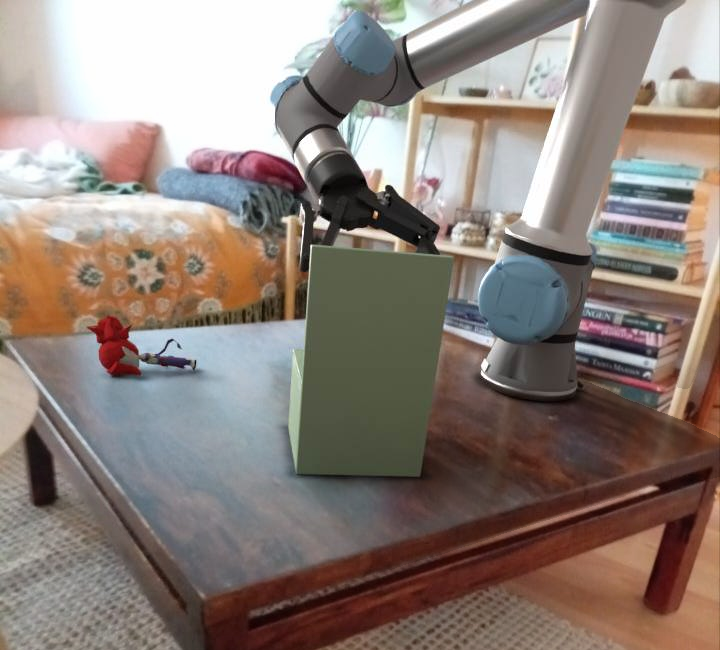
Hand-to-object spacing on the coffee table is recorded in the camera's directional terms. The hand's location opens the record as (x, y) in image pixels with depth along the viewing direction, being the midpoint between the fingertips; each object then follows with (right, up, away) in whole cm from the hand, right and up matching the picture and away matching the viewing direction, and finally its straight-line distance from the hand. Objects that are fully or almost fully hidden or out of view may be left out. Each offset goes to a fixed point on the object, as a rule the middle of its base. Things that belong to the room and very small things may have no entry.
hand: (396, 293), depth 90 cm
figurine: (-36, -5, +13) cm, 39 cm away
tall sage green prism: (-6, -20, -6) cm, 22 cm away
